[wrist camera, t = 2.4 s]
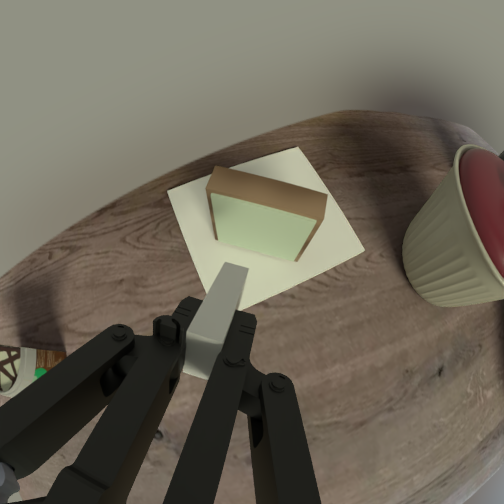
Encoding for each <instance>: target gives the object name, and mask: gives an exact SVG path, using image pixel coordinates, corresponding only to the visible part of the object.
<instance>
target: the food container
mask: <svg viewBox="0 0 504 504" xmlns="http://www.w3.org/2000/svg"><path fill="white" fill-rule="evenodd" d="M65 358H66V352H61V351H50V350H40V349H32V348H24V347H21V348H19V347H11V346H5V345H0V394H1V395H4V396H8V397H12V398H13V397H14V396H15V395H17V394H18V393H19V392H21V391H22V390H23V389H25V388H26V387H27V386H29V385H30V384H31V383H33V382H34V381H35V380H37V379H38V378H39V377H41V376H42V375H43V374H45V373H46V372H47V371H49V370H50V369H51V368H53V367H54V366H56V365H57V364H58V363H60V362H61V361H62V360H64V359H65Z"/></svg>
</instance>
